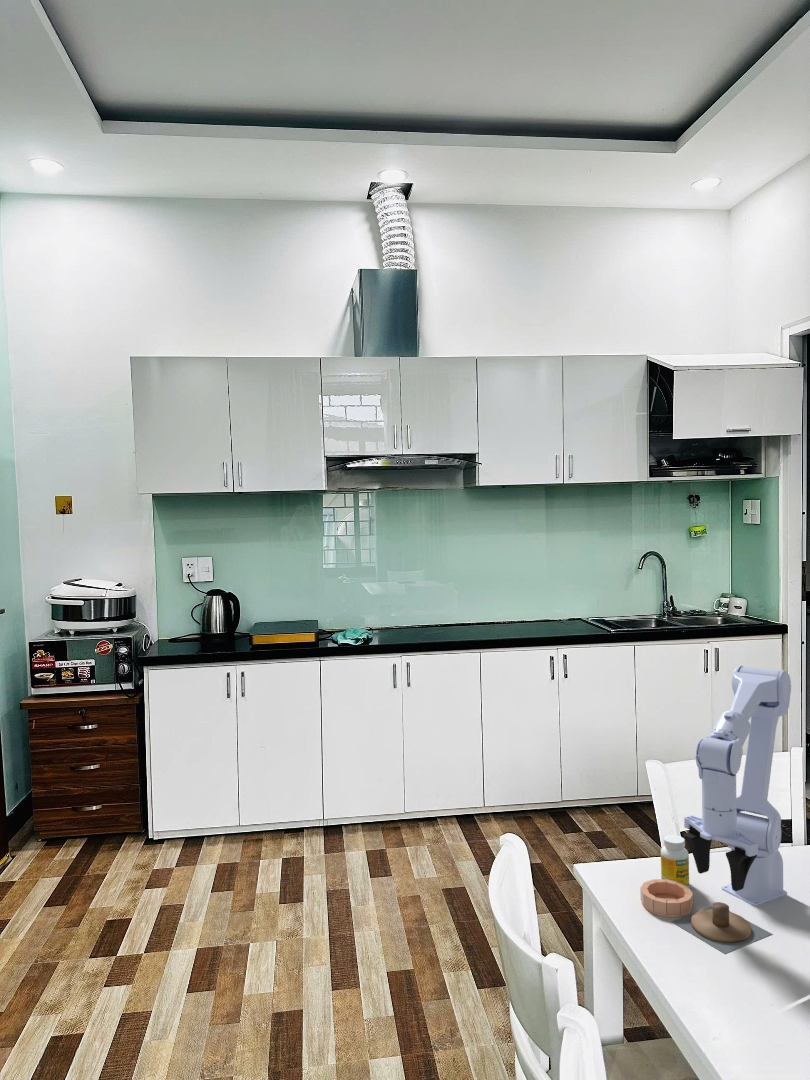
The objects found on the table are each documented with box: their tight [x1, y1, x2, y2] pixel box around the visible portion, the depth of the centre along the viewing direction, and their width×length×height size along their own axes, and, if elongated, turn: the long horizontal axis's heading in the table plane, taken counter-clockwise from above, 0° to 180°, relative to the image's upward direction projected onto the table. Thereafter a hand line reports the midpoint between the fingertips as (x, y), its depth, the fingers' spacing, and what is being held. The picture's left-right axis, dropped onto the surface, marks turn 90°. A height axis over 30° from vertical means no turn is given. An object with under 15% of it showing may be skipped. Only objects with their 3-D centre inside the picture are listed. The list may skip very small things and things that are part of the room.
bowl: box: [639, 878, 694, 918], centre depth 151 cm, size 9×9×3 cm
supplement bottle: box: [660, 834, 690, 888], centre depth 159 cm, size 5×5×10 cm
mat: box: [671, 906, 773, 955], centre depth 142 cm, size 12×12×1 cm
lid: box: [691, 901, 751, 943], centre depth 142 cm, size 10×10×4 cm
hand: (720, 880), depth 142 cm, fingers open, 7 cm apart
